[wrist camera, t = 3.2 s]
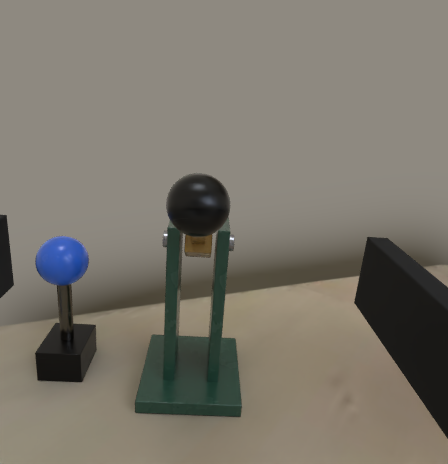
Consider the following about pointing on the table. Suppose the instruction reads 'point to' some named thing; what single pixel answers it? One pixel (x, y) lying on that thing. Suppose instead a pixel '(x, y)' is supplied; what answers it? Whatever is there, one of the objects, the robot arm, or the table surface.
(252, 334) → the table surface
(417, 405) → the table surface
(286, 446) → the table surface
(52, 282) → the blue knob joystick
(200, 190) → the switch lever
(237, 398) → the switch bracket
